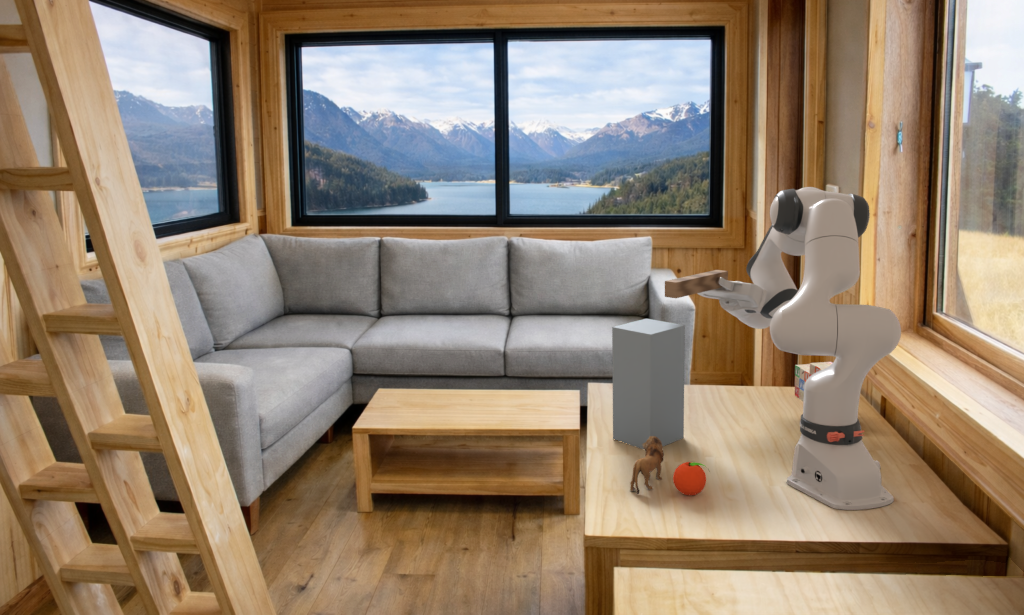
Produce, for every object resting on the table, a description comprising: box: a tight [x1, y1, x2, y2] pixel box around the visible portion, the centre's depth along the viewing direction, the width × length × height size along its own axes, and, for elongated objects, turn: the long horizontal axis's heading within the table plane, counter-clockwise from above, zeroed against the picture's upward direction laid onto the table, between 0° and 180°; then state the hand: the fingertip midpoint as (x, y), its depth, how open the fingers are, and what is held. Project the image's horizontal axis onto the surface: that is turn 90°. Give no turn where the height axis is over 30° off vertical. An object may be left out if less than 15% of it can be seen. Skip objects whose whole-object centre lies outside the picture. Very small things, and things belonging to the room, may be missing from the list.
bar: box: [664, 269, 729, 299], centre depth 218 cm, size 22×4×4 cm, turn 131°
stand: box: [611, 318, 686, 451], centre depth 210 cm, size 13×12×29 cm
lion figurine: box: [629, 436, 665, 495], centre depth 185 cm, size 15×5×9 cm, turn 157°
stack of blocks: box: [794, 361, 833, 402], centre depth 232 cm, size 21×6×12 cm, turn 6°
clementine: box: [672, 461, 711, 496], centre depth 179 cm, size 8×7×7 cm
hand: (710, 278), depth 221 cm, fingers closed on bar, 3 cm apart
